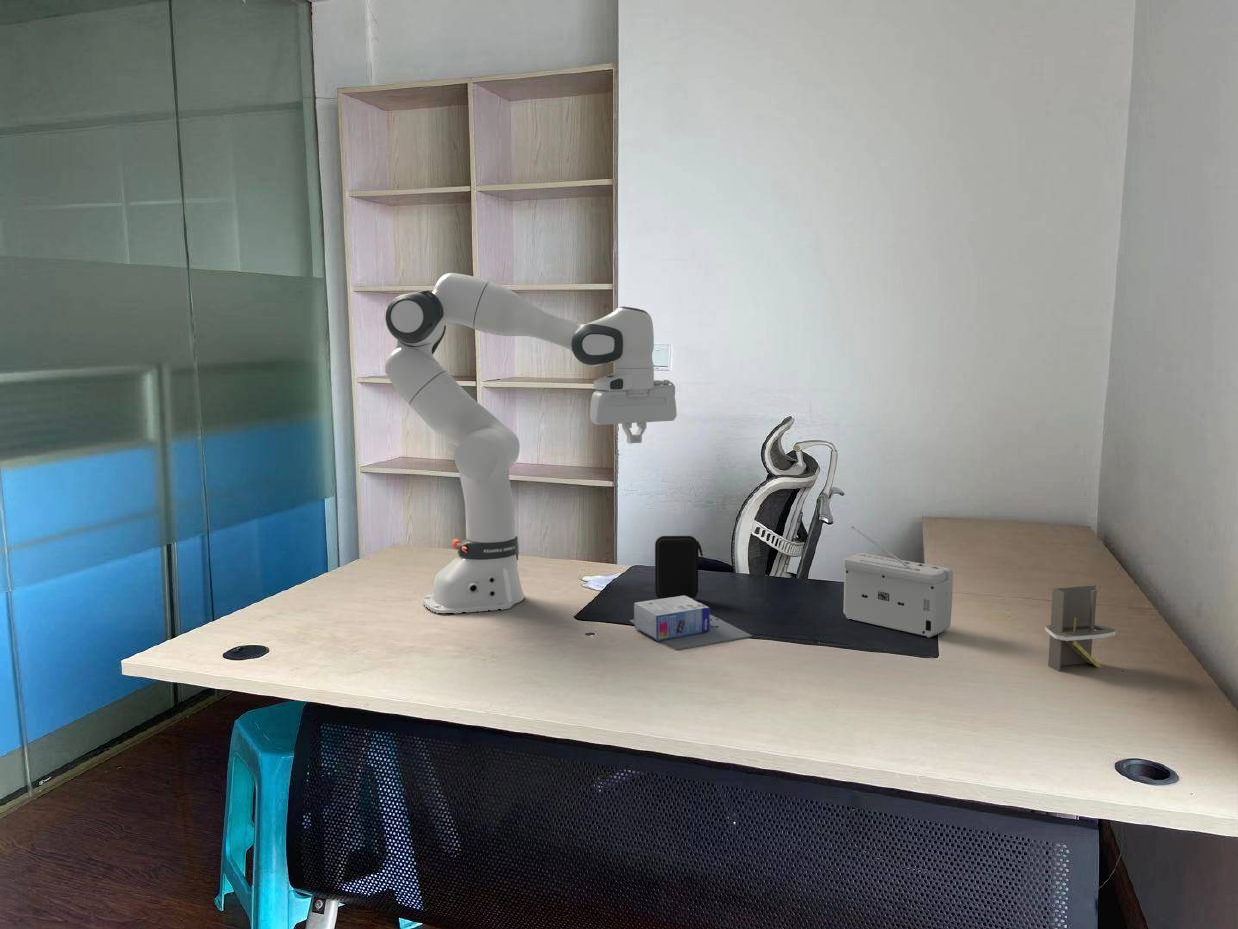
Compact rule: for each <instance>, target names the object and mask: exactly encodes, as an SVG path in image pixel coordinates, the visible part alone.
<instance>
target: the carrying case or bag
mask: <svg viewBox="0 0 1238 929" xmlns="http://www.w3.org/2000/svg"><path fill="white" fill-rule="evenodd" d="M699 554H700V556H701V557H704V556H703V555H704V553H703V549H702V546H701V543H700V541H699V540H697V539H696V538H695V537H694V536H692V535H662V536H659V537H658V538H657V539H656V540H655V542H654V592H655V595H656V597H657V598H658V599H664V598H671V597H678V596H687V597H690V598H692V599H693V600H694V599H695V598H696V597H697V595H698V592H699Z"/></svg>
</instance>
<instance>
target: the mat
mask: <svg viewBox="0 0 1238 929" xmlns="http://www.w3.org/2000/svg"><path fill="white" fill-rule="evenodd" d="M710 619H712V621H710V626H719V627H718V628H716V627H713V628H710V631H709V632H703V633H697V634H692V635H687V636H681V637H676V638H670V639H665V640H660V641H661V642H663V643H665V644H666V645H667V646H670V647H671V648H673V649H674V650H676V651H681V650H687V649H691V648H698V647H702V646H703V647H704V646H708V645H714V644H720V643H725V642H731V641H737V640H741V639H742V640H744V639H748V638H752V637H753V635H752V634H750V633H748V632H746V631H745V630H742V629H740V628H738V627H736V626H734V625H732V624H731V623H728V622H727V621H724V620H722V619H720V618H719V617H716V616H715V615H712V614H710ZM716 619H718V620H716ZM628 621H630V623H631V624H633V625H634V618H633V619H629V620H628Z"/></svg>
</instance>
